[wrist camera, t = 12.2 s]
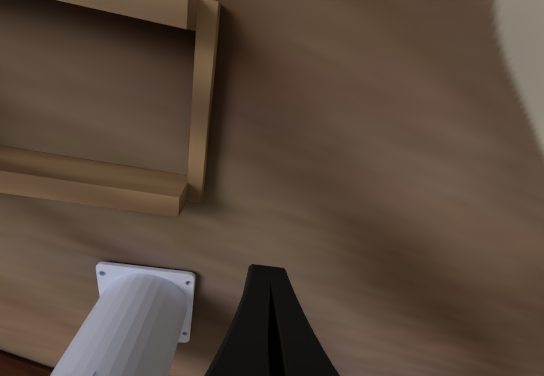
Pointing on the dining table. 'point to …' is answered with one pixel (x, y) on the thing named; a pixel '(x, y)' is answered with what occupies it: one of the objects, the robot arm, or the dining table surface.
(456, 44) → the dining table surface
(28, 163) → the bay
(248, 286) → the robot arm
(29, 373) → the diary
